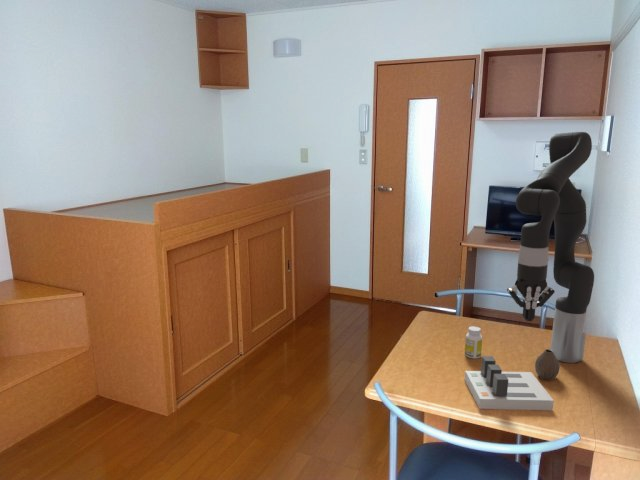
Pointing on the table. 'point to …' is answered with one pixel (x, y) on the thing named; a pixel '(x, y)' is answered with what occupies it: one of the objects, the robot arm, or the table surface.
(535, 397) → the breaker panel
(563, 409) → the table surface
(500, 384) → the block
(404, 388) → the table surface
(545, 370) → the vase
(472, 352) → the supplement bottle
